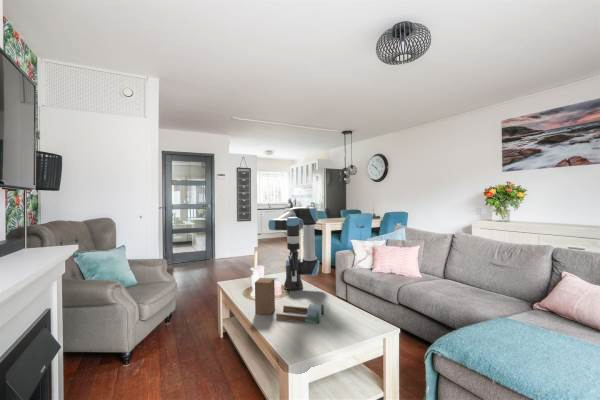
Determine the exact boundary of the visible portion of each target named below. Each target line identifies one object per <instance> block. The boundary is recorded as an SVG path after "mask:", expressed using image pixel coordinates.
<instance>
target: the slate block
mask: <svg viewBox="0 0 600 400" xmlns="http://www.w3.org/2000/svg"><path fill="white" fill-rule="evenodd" d="M306 308H307V313H306V316H308V317H316V313H317V312H318V313H319V322H320V320H321V319H322V315H321V304H313V303H312V304H311V303H310V304H309V305H308V306H307V307H306Z"/></svg>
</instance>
